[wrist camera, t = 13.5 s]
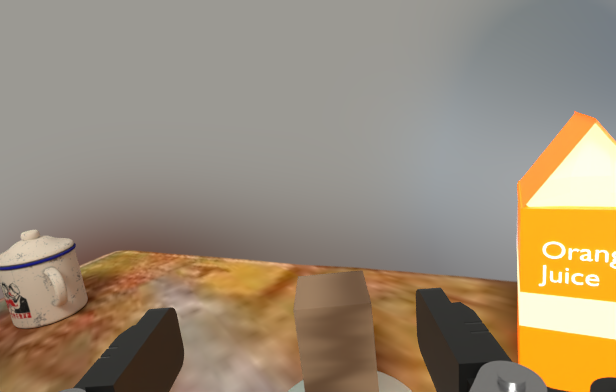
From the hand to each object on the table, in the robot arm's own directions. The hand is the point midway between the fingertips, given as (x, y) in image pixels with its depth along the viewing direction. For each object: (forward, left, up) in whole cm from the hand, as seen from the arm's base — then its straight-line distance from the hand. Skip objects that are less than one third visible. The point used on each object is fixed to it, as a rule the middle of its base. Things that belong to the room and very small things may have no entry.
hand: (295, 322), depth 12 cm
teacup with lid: (-47, -16, -16) cm, 52 cm away
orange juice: (-4, +24, -16) cm, 29 cm away
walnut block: (-9, +6, -14) cm, 18 cm away
